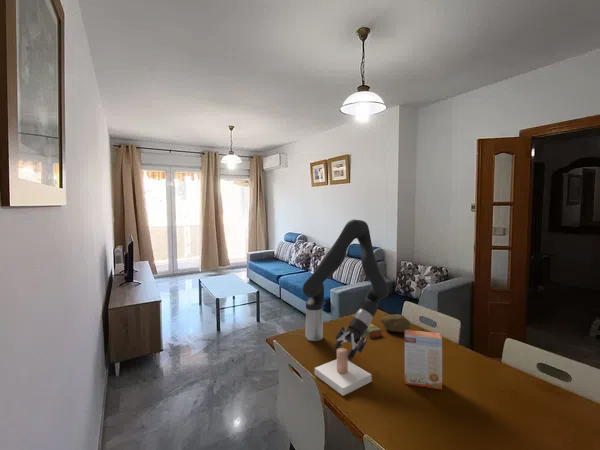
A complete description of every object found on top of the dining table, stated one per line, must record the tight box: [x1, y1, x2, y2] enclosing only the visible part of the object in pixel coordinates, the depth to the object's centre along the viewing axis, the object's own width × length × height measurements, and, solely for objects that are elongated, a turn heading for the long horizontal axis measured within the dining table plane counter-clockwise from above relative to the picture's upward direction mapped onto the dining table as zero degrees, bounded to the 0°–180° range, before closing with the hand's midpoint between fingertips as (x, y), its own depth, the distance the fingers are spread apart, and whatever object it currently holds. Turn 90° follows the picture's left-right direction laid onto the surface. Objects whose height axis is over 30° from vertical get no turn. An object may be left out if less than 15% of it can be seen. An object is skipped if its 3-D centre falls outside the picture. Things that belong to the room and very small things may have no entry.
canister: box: [336, 347, 349, 374], centre depth 125 cm, size 5×5×9 cm
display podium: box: [314, 358, 373, 396], centre depth 125 cm, size 18×16×3 cm
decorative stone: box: [380, 313, 412, 333], centre depth 171 cm, size 17×11×10 cm, turn 56°
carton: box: [363, 322, 382, 339], centre depth 172 cm, size 8×16×4 cm, turn 22°
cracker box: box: [404, 329, 443, 390], centre depth 120 cm, size 14×6×21 cm, turn 71°
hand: (341, 354), depth 125 cm, fingers open, 8 cm apart
